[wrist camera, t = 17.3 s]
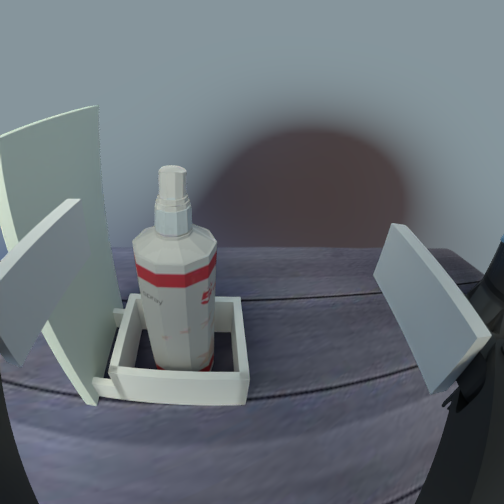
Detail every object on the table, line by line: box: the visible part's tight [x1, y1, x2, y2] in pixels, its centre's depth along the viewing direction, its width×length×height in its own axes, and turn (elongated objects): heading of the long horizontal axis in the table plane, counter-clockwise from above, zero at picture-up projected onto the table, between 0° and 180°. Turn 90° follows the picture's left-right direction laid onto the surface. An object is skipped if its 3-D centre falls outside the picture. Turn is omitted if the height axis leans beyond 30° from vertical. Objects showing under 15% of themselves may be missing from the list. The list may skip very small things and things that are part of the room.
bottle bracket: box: [0, 105, 250, 406], centre depth 28 cm, size 20×18×30 cm
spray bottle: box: [132, 165, 217, 372], centre depth 29 cm, size 8×8×25 cm
